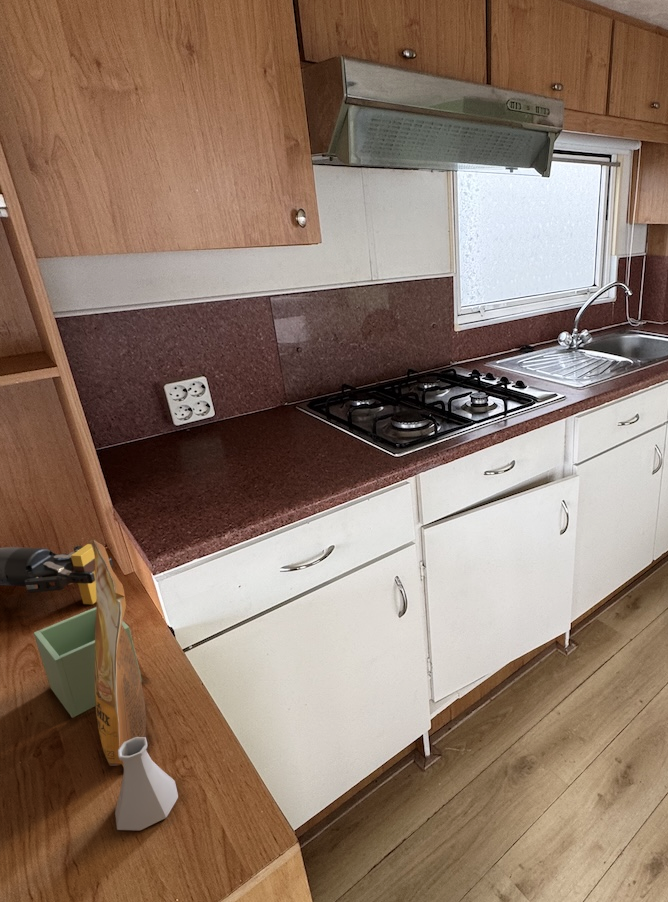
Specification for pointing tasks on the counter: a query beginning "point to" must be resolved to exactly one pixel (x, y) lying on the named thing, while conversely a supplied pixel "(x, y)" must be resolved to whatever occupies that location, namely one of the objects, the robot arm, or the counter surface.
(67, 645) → the trash can
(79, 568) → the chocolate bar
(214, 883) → the counter surface
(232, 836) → the counter surface
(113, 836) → the counter surface
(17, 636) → the counter surface
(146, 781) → the flask
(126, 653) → the pancake mix bag
